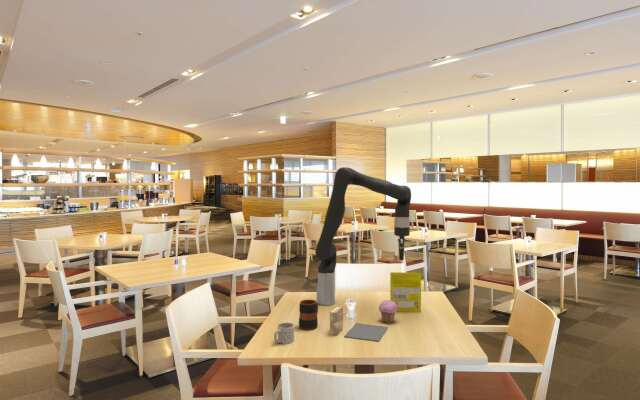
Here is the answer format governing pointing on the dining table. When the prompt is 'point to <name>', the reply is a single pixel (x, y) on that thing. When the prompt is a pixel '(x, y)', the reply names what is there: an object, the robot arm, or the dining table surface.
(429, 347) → the dining table surface
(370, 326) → the mat
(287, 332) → the mug
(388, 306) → the cupcake
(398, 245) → the robot arm
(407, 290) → the food package
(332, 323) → the wooden block
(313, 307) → the mug
